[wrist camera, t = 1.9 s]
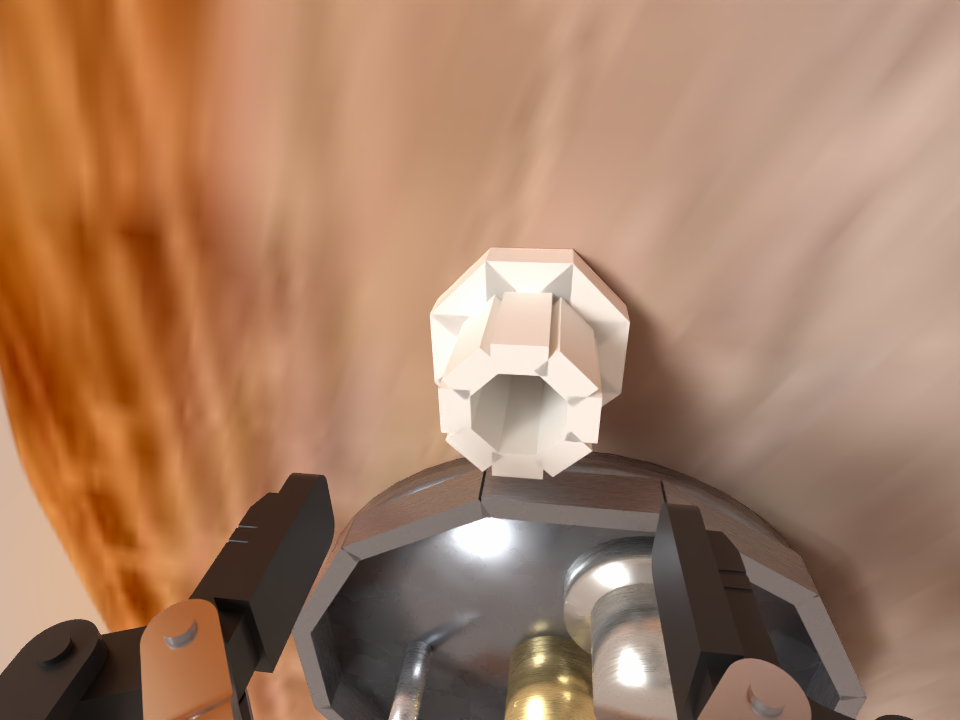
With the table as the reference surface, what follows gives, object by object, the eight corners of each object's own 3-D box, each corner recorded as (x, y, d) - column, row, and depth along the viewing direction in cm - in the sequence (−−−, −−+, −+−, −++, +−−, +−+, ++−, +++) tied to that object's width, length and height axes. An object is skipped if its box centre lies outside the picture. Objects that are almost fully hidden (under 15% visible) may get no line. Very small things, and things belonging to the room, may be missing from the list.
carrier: (905, 472, 23) (1026, 628, 17) (756, 793, 36) (794, 943, 30) (283, 428, 26) (197, 543, 20) (357, 734, 39) (318, 859, 33)
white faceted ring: (632, 250, 20) (652, 315, 15) (613, 416, 23) (624, 511, 19) (434, 245, 21) (394, 305, 16) (444, 405, 24) (414, 493, 19)
